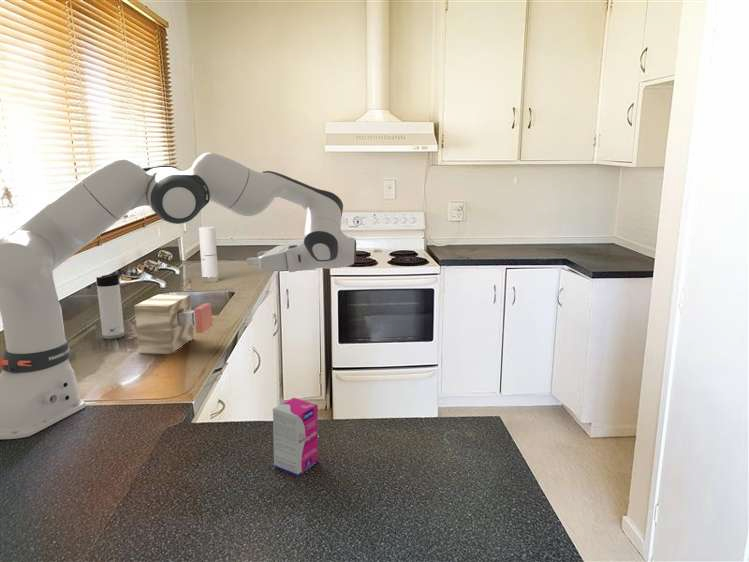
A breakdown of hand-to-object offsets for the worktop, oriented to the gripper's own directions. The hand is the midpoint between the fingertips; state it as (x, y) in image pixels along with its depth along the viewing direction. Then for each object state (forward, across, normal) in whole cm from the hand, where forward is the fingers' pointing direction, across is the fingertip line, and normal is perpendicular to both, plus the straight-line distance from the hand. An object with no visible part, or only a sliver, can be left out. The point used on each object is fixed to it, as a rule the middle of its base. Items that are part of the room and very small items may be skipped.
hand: (252, 258), depth 156 cm
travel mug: (+50, -6, +23) cm, 56 cm away
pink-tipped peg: (+23, +1, +19) cm, 30 cm away
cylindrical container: (+52, -89, +24) cm, 106 cm away
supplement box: (-24, +63, +28) cm, 73 cm away
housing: (+29, +1, +24) cm, 38 cm away
